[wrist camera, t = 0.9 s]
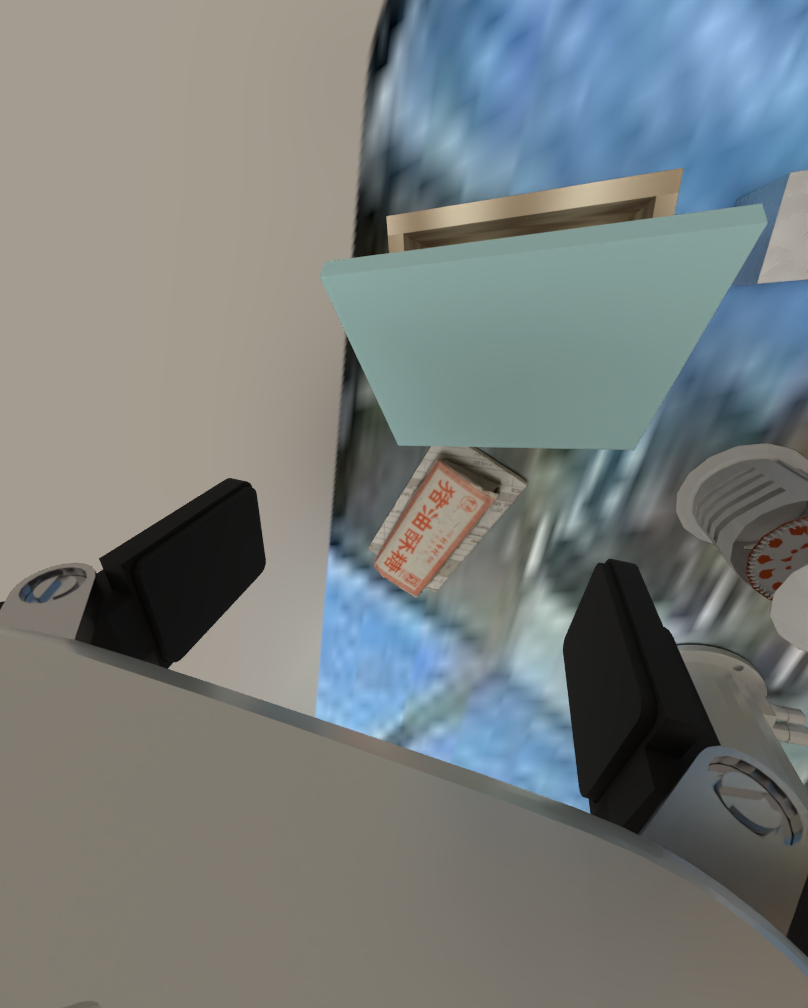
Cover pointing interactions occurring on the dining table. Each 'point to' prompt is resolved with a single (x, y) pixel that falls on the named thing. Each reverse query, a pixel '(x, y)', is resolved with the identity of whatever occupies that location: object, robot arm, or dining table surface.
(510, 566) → the dining table surface
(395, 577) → the packaged product
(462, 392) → the lid
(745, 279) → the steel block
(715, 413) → the dining table surface
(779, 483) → the french press
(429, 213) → the storage box
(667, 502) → the dining table surface
